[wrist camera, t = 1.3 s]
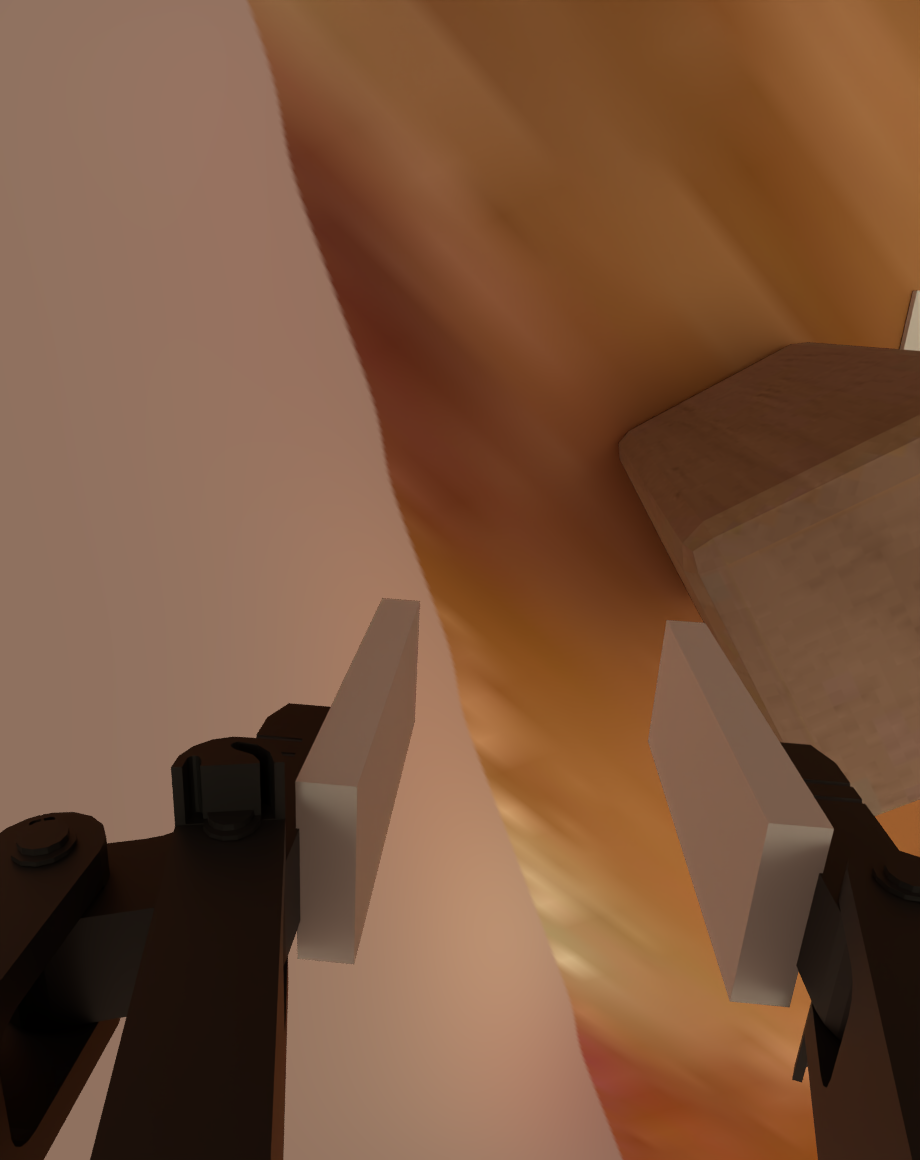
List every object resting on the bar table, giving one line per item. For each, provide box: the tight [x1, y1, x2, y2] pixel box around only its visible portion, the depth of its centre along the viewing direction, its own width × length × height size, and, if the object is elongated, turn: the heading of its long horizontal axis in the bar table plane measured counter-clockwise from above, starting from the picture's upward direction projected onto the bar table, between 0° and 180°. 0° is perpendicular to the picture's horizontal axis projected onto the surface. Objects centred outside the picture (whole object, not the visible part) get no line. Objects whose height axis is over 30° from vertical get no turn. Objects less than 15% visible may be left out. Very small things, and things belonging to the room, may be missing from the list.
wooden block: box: [619, 342, 920, 816], centre depth 29 cm, size 10×10×20 cm
